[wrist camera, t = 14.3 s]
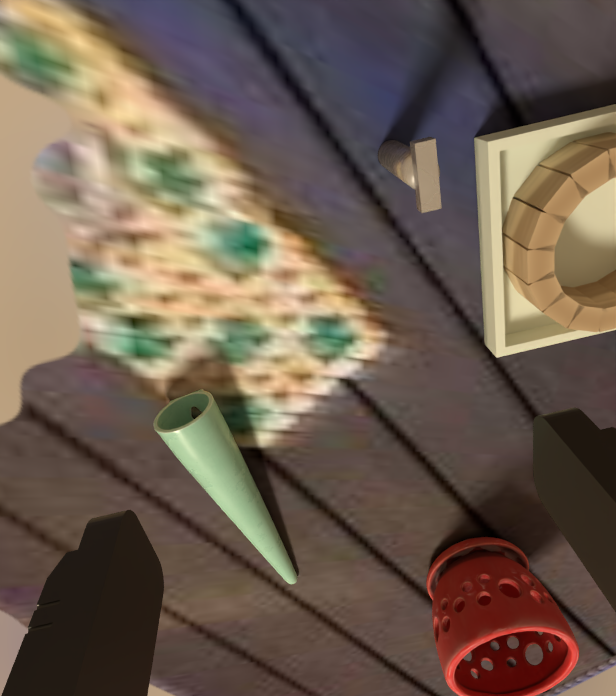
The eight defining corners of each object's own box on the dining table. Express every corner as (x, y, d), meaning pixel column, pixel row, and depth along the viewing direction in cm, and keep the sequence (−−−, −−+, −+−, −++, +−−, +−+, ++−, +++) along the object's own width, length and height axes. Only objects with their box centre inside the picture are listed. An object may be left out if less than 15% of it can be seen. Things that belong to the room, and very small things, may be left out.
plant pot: (446, 515, 57) (491, 617, 46) (545, 537, 60) (609, 637, 50) (394, 594, 62) (424, 702, 52) (488, 611, 65) (534, 715, 55)
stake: (373, 128, 38) (407, 145, 30) (401, 122, 38) (442, 137, 30) (381, 185, 40) (415, 214, 32) (407, 178, 40) (447, 206, 32)
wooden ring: (497, 159, 39) (525, 170, 35) (683, 113, 39) (733, 118, 35) (504, 325, 46) (529, 349, 42) (663, 286, 45) (703, 306, 42)
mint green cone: (273, 629, 55) (148, 440, 42) (271, 583, 60) (158, 402, 47) (321, 613, 54) (210, 418, 42) (315, 568, 59) (214, 381, 46)
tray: (474, 137, 39) (487, 141, 36) (709, 81, 39) (737, 82, 36) (484, 344, 47) (496, 357, 45) (678, 298, 47) (699, 310, 45)
